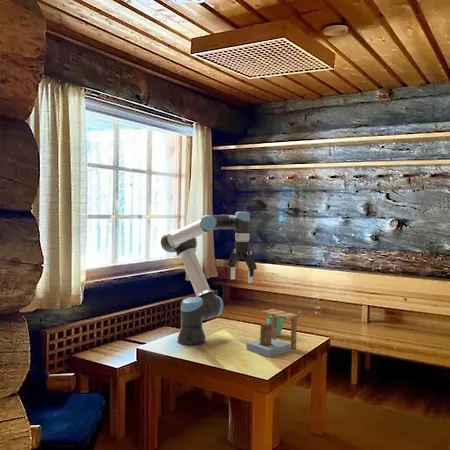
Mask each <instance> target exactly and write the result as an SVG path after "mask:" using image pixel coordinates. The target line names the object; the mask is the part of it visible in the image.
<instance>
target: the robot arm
mask: <svg viewBox="0 0 450 450" xmlns="http://www.w3.org/2000/svg"><path fill="white" fill-rule="evenodd" d="M250 223H251V216H250V212H249V211H236V212H235V214H208V215H204V216H202V217H201V219H199V220H198V221H195V222H193V223H191V224H188V225H186V226H184V227H181V228H180V229H177V230H171V231H169V232H166V233H164V234H163V235H162V237H161V238H160V245H161V247H162V249H163V250H164V251H165V252H167V253H176V255H177V258H179V259H181V262H182V263H183V265H184V268H185V270H186V273H187V275H188V278H189V280H190V284H191V285H192V286H191V287H192V288H193V290H194V293H195V296H191V297H190V296H189V297H186V298H184V299H183V300H182V301H181V306H180V329H179V331H178V336H177V342H178V343H179V344H180V345H186V346H198V345H203V344H204V343H205V342H206V334H205V332H204V331H205V330H204V328H203V321H205V320H208V319H214V318H217V317H219V316H220V315H221V314H222V313H223V311H224V301H223V299H222V298H221V297H220V296H218V295H216V293H215V290H212V289H211V288H210V285H209V284H208V281H207V279H206V275H205V273H204V271H203V268H202V267H201V264H200V262H199V259H198V257H197V255H196V252H197V247H198V240H197V237H199V236H202V235H204V234H206V233H209V232H211V231H215V230H235V234H234V236H235V237H234V240H235V241H234V248H233V249H232V248H231V253H230V256H229V259H228V262H227V266H229V271H230V272H229V273H230V280H236V265H237V263H238V262H239V260H244V262H245V264H246V266H247V268H248V272H247V284H251V283H254V276H255V273H254V271H255V270H258V269H257V268H258V267H257V264H256V260H255V257H254V252H253V250H250V251H249V249H250V227H251V226H250V225H251V224H250Z"/></svg>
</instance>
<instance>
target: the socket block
mask: <svg viewBox="0 0 450 450" xmlns="http://www.w3.org/2000/svg"><path fill="white" fill-rule="evenodd" d="M246 350H248V351H251V352H253V353H256V354H258V355H262V356H265V357H268V358H271V357H274V356H278V355H281V354H285V353H288V352H291V343H287V342H284V341H281V340H278V339H277V340H275V339H272V338H271V345H270V346H263V345H260V339H257V340H252V341H248V342H246Z"/></svg>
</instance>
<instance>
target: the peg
mask: <svg viewBox="0 0 450 450" xmlns="http://www.w3.org/2000/svg"><path fill="white" fill-rule="evenodd" d="M271 332H272V324H268V323H267V322H263V323H260V332H259V333H260V339H259V340H260V345H263V346H270V345H271Z"/></svg>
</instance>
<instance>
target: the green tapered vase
mask: <svg viewBox="0 0 450 450" xmlns="http://www.w3.org/2000/svg"><path fill="white" fill-rule="evenodd" d="M284 322H285V319H281V318H277V336H278V337H279V336H280V335H281V333H282V330H283V327H284ZM266 323H268V324H272V316H270V315H268V316H267V318H266ZM271 335H272V332H271Z"/></svg>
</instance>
